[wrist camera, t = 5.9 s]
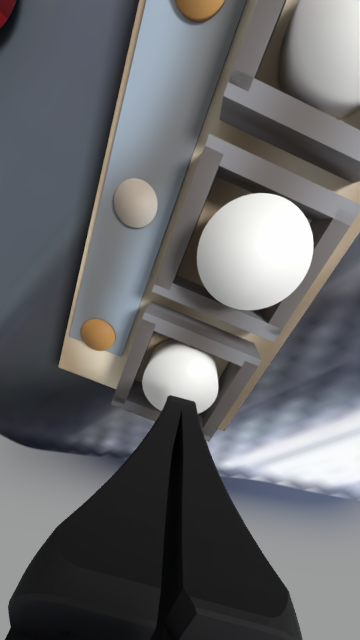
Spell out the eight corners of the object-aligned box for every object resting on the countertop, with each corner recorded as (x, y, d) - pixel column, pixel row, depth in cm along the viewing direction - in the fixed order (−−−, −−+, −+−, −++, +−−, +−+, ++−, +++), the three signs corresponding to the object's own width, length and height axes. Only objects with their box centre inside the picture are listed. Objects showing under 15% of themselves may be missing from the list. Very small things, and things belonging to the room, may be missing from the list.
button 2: (228, 353, 14) (232, 371, 12) (199, 402, 16) (199, 426, 14) (163, 326, 14) (157, 341, 12) (141, 380, 16) (132, 400, 14)
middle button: (313, 224, 10) (338, 223, 8) (262, 310, 12) (273, 325, 10) (222, 182, 10) (227, 171, 8) (183, 276, 11) (180, 286, 10)
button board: (459, 30, 10) (639, -109, 6) (221, 406, 19) (226, 455, 15) (192, -114, 9) (184, -388, 5) (76, 349, 18) (39, 384, 14)
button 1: (431, -1, 8) (499, -68, 6) (350, 140, 10) (385, 120, 8) (322, -60, 8) (360, -149, 6) (258, 95, 9) (272, 63, 8)
